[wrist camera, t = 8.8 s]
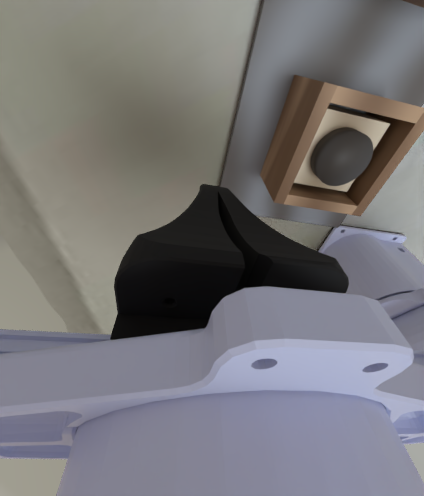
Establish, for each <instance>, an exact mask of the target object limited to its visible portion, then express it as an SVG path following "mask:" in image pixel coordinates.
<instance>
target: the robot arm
mask: <svg viewBox="0 0 424 496" xmlns="http://www.w3.org/2000/svg"><path fill="white" fill-rule="evenodd" d="M341 230H342V231H341ZM405 240H406V236H405V235H402V234H395V233H389V232H382V231H375V230H368V229H361V228H355V227H348V226H341V225H340V226H339V227H338V228H337V227H334V228H333V230H332V231H331V233H330V234H329V236H328V237H327V239H326V240H325V242H324V243H323V245H322V246H321V248H320V249H319V251H318V252H317V251H315V250H312V249H310V248H308V247H305V246H303V245H301V244H299V243H297V242H295V241H293V240H291V239H289V238H287V237H285V236H284V235H282V234H280V233H279V232H277V231H275V230H274V229H272V228H271V227H269V226H268V225H267V224H265V223H264V222H262V221H261V220H260V219H259V218H257V217H256V216H255V215H254V214H253V213H252V212H251V211H250V210H248V209H247V208H246V207H245V206H244V205H243V204H242V203H241V202H240V200H239V199H238V198H237V197H236V196H235V195H234V194H233V193H232V192H231V191H230V190H229V189H228V188H224V187H218V186H212V185H206V184H202V185H201V186H200V191H199V193H198V195H197V197H196V198H195V200H194V201H193V202H192V204H191V205H190V206H189V207H188V208H187V209H186V210H185V211H184V212H183V213H182V214H181V215H180V216H179V217H177V218H176V219H175V220H173V221H172V222H170V223H169V224H167V225H165V226H163V227H161V228H158V229H156V230H153V231H150V232H147V233H144V234H140V235H138V236H137V237H136V238H135V240H134V241H133V242H132V244H131V245H130V247H129V249H128V250H127V252H126V254H125V256H124V257H123V259H122V261H121V264H120V266H119V269H118V272H117V274H116V277H115V284H114V289H115V296H116V303H117V311H118V314H117V318H116V321H115V324H114V328H113V331H112V334H111V335H106V334H86V333H66V332H46V331H26V330H6V329H0V458H14V459H15V458H16V459H18V458H19V459H68V460H67V463H66V466H65V470H64V473H63V476H62V479H61V482H60V485H59V488H58V491H57V494H56V496H424V483H423V481H422V479H421V477H420V475H419V474H418V471H417V469H416V467H415V466H414V464H413V462H412V460H411V458H410V456H409V454H408V452H407V450H406V448H405V446H404V444H414V443H424V265H423V264H422V263H421V262H420V261H419V260H418V259H417V258H416V257H415V256H414V255H413V254H412V253H411V252H410V251H409V250H408V249H407V248H406V247H404V246H403V245H402V243H403V242H404V241H405Z"/></svg>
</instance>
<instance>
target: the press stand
mask: <svg viewBox="0 0 424 496" xmlns="http://www.w3.org/2000/svg"><path fill="white" fill-rule="evenodd" d="M423 104H424V0H262V4H261V8H260V12H259V17H258V21H257V25H256V30H255V34H254V38H253V43H252V47H251V51H250V56H249V60H248V64H247V69H246V73H245V77H244V82H243V86H242V90H241V94H240V99H239V103H238V107H237V112H236V116H235V120H234V125H233V129H232V133H231V138H230V142H229V146H228V151H227V155H226V159H225V164H224V168H223V172H222V177H221V181H220V185H219V187H224V188H228V189H229V190H230V191H231V192H232V193H233V194H234V195H235V196H236V197H237V198H238V199H239V200H240V202H241V203H242V204H243V205H244V206H245V207H246V208H247V209H248V210H250V211H251V212H252V213H253V214H254V215H255V216H261V217H268V218H275V219H282V220H289V221H296V222H303V223H310V224H317V225H324V226H330V227H337V228H338V227H339V226H340V224H341V223H342V221H343V220H344V219H345V217H346V216H347V214H350V215H356V216H361V215H362V213H363V212H364V211H365V209H366V208H367V207H368V205H369V204H370V202H371V201H372V200H373V198H374V197H375V196H376V194H377V193H378V192H379V190H380V189H381V188H382V186H383V185H384V183H385V182H386V181H387V179H388V178H389V177H390V175H391V174H392V173H393V171H394V170H395V169H396V167H397V166H398V164H399V163H400V162H401V160H402V159H403V158H404V156H405V155H406V154H407V152H408V151H409V150H410V148H411V147H412V145H413V144H414V143H415V141H416V140H417V139H418V137H419V136H420V135H421V133H422V132H423V131H424V108H422V105H423ZM329 105H332V106H336V107H340V108H344V109H348V110H352V111H356V112H360V113H364V114H366V115H369V116H371V117H374V118H377V119H379V120H382V121H385V122H387V123H390V125H389V127H388V129H387V130H386V132H385V133H384V135H383V136H382V138H381V140H380V141H379V143H378V144H377V146H376V147H375V149H374V151H373V155H372V158H371V161H370V163H369V164H368V166H367V167H366V169H365V170H364V171H363V172H362V173H361V174H360V175H359V176H358V177H357V178H356V179H355V180H354V182H353V183H352V185H351V187H350V188H349V190H348V191H347V192H344V191H338V190H333V189H327V188H321V187H316V186H310V185H304V184H298V183H294V181H295V178H296V176H297V174H298V172H299V170H300V167H301V165H302V163H303V161H304V159H305V156H306V154H307V152H308V150H309V148H310V146H311V143H312V141H313V139H314V137H315V135H316V132H317V130H318V128H319V126H320V124H321V121H322V119H323V117H324V115H325V113H326V110H327V108H328V106H329Z"/></svg>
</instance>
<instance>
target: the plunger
mask: <svg viewBox="0 0 424 496" xmlns="http://www.w3.org/2000/svg"><path fill="white" fill-rule="evenodd" d="M389 125H390V123H387V122H385V121H382V120H379V119H377V118H374V117H371V116H369V115H366V114H364V113H360V112H356V111H352V110H348V109H344V108H340V107H336V106H332V105H329V106H328V108H327V110H326V113H325V115H324V117H323V119H322V121H321V124H320V126H319V128H318V130H317V132H316V135H315V137H314V139H313V141H312V143H311V146H310V148H309V150H308V152H307V154H306V156H305V159H304V161H303V163H302V165H301V167H300V170H299V172H298V174H297V176H296V178H295V181H294V183H298V184H304V185H310V186H316V187H321V188H327V189H333V190H338V191H344V192H347V191H348V190H349V188H350V187H351V185H352V183H353V182H354V180H355V179H356V178H357V177H358V176H359V175H360V174H361V173H362V172H363V171H364V170H365V169H366V167H367V166H368V164H369V163H370V161H371V158H372V155H373V151H374V149H375V147H376V146H377V144H378V143H379V141H380V140H381V138H382V136H383V135H384V133H385V132H386V130H387V129H388V127H389Z"/></svg>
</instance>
